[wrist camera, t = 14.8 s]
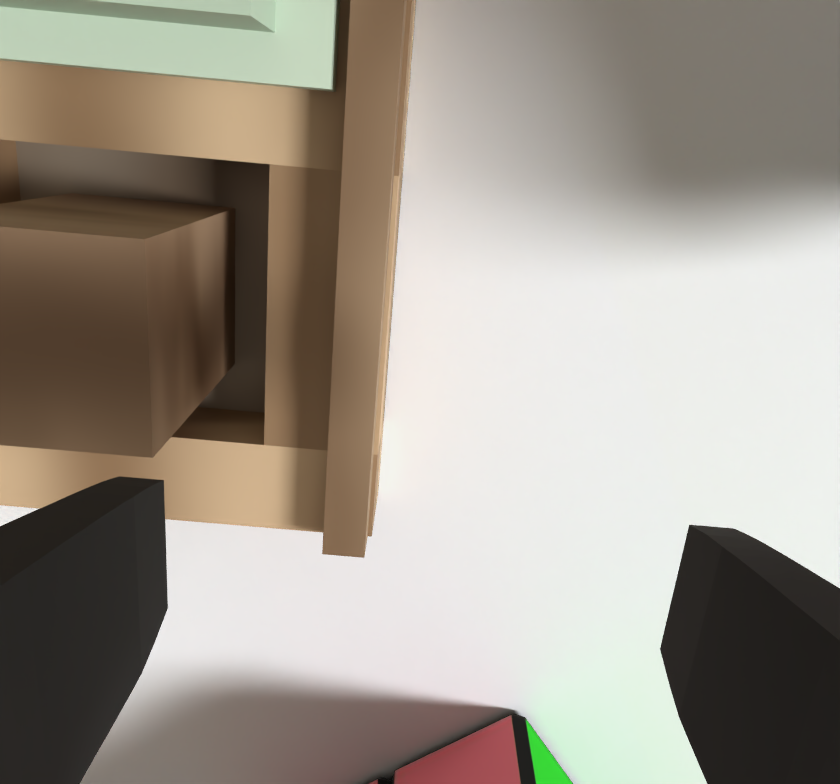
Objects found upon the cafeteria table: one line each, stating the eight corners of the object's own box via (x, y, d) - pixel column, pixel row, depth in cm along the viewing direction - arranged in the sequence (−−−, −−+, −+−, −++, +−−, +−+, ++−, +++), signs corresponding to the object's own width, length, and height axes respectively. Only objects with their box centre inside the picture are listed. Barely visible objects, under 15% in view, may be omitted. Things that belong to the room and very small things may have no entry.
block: (234, 364, 19) (152, 458, 14) (82, 351, 19) (-66, 439, 13) (235, 208, 18) (144, 239, 12) (71, 193, 18) (-97, 218, 12)
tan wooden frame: (439, -303, 15) (441, -426, 12) (377, 493, 21) (368, 558, 17) (-158, -364, 15) (-324, -507, 11) (-49, 456, 20) (-138, 515, 17)
